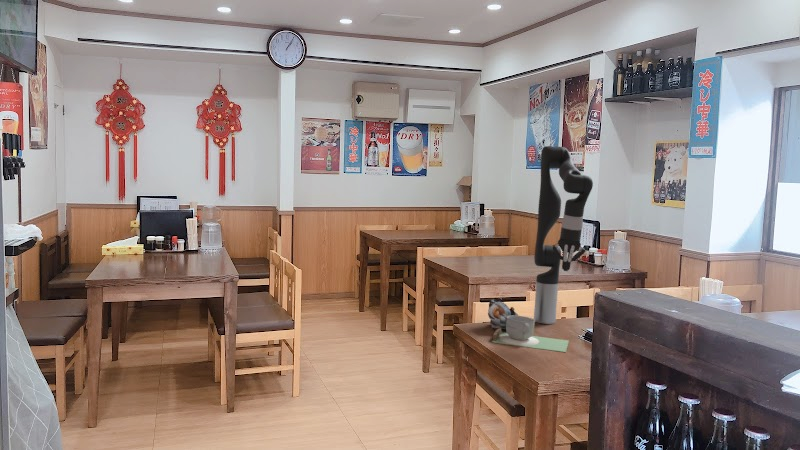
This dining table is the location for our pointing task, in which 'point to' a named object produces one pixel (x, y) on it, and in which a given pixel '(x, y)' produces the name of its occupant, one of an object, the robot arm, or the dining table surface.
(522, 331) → the teacup
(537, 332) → the dining table surface
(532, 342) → the putting green
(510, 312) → the lucky cat figurine
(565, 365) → the dining table surface
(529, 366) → the dining table surface
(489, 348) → the dining table surface
